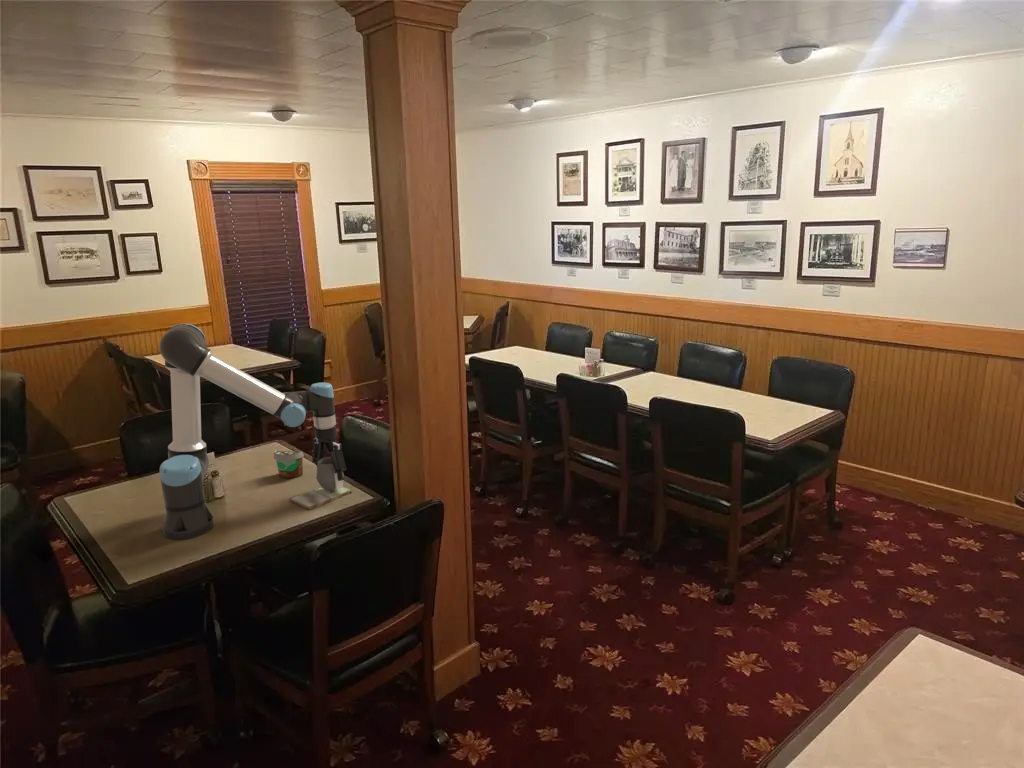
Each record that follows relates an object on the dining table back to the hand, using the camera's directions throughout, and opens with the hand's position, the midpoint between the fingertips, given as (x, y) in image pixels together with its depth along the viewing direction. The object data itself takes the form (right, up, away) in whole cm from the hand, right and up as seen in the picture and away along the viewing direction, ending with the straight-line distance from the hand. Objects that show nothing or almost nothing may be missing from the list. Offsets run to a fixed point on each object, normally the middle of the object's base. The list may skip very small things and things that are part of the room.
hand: (330, 485), depth 241 cm
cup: (0, -1, 0) cm, 1 cm away
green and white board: (-3, -4, -3) cm, 5 cm away
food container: (-21, 0, +17) cm, 27 cm away
